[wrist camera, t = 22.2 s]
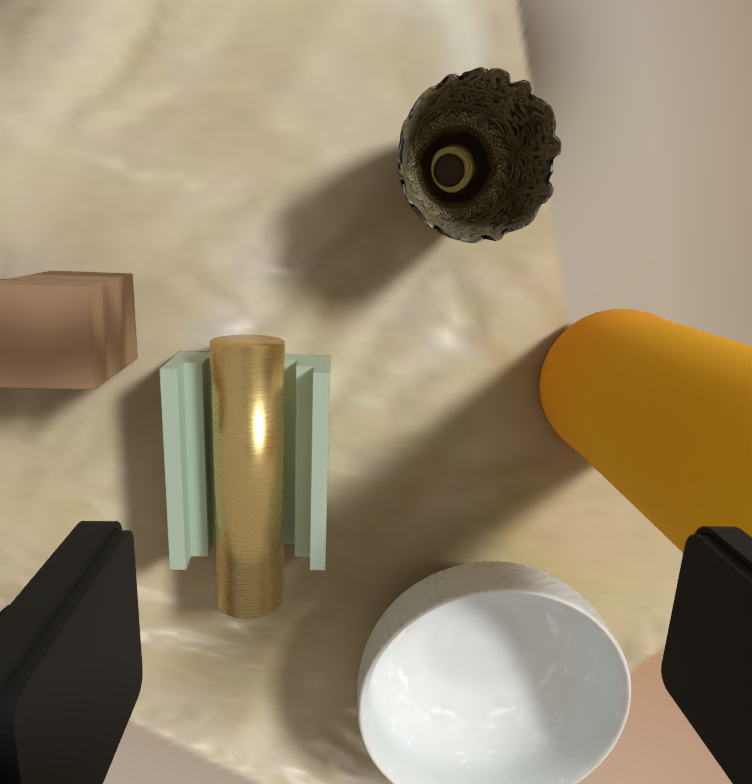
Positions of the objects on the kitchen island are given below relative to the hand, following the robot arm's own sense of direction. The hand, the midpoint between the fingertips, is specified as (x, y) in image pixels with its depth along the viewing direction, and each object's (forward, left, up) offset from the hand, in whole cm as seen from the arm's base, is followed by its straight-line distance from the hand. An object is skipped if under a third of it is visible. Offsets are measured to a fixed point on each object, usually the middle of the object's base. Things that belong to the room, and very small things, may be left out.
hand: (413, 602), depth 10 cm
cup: (-9, +5, -28) cm, 30 cm away
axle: (+9, -6, -25) cm, 27 cm away
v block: (+8, -6, -28) cm, 30 cm away
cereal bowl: (+22, +9, -29) cm, 37 cm away
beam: (0, -20, -28) cm, 35 cm away
